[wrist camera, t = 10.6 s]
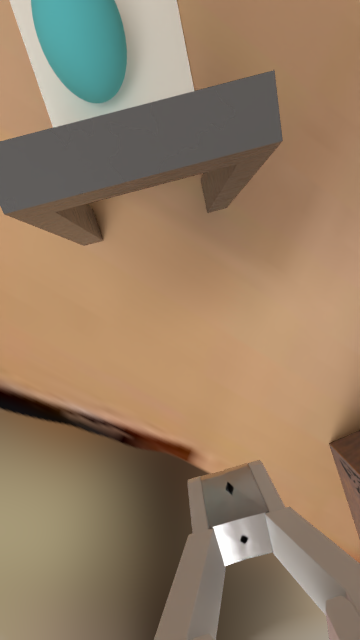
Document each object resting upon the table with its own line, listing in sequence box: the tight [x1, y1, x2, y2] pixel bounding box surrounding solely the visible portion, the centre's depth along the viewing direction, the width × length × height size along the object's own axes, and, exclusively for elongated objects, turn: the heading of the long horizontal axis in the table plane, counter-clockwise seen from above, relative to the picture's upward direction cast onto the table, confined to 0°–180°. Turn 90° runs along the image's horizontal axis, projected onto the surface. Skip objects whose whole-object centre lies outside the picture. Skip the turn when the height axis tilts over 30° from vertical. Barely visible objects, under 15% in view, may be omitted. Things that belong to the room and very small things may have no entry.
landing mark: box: [10, 0, 194, 128], centre depth 16 cm, size 13×13×1 cm
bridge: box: [0, 71, 283, 246], centre depth 14 cm, size 3×15×10 cm, turn 105°
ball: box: [31, 0, 127, 103], centre depth 14 cm, size 6×6×6 cm
